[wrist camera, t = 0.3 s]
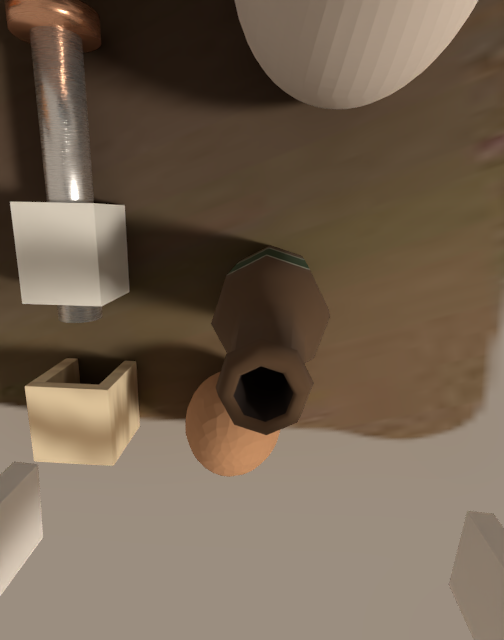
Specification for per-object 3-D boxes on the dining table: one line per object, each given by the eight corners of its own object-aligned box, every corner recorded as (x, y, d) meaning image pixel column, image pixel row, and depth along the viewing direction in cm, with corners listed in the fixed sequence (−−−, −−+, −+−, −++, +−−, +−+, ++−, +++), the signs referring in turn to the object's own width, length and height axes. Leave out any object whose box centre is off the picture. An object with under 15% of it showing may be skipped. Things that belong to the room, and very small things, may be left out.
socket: (66, 358, 41) (24, 386, 34) (136, 361, 41) (107, 390, 34) (72, 422, 43) (34, 461, 36) (139, 426, 43) (113, 465, 36)
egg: (227, 443, 42) (210, 522, 32) (182, 380, 41) (147, 439, 30) (296, 406, 41) (302, 476, 30) (252, 339, 39) (242, 386, 29)
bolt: (37, 31, 34) (-17, -11, 28) (112, 30, 33) (75, -12, 27) (64, 308, 40) (24, 325, 33) (128, 310, 39) (100, 328, 33)
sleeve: (54, 203, 37) (9, 201, 31) (124, 205, 37) (93, 203, 31) (62, 289, 39) (22, 303, 33) (129, 292, 39) (101, 306, 33)
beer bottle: (235, 328, 39) (171, 491, 16) (228, 246, 37) (143, 298, 14) (316, 323, 39) (372, 486, 15) (313, 240, 37) (371, 284, 14)
